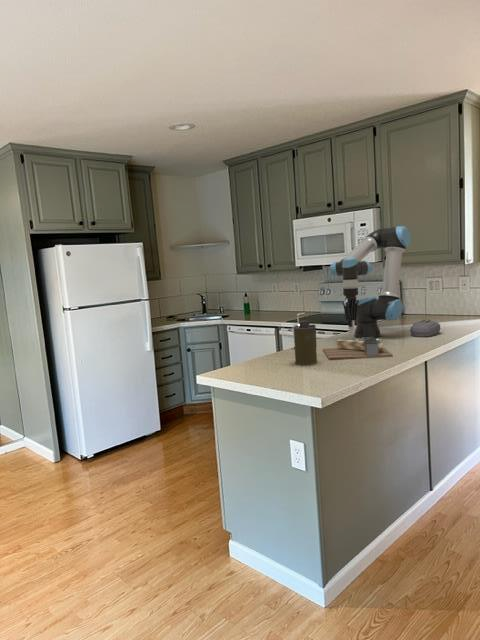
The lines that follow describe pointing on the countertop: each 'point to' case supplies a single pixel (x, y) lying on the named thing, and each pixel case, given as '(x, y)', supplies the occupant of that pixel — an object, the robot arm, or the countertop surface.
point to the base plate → (351, 354)
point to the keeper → (370, 346)
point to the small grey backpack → (425, 328)
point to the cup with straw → (298, 321)
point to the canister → (305, 343)
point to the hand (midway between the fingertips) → (351, 332)
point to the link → (355, 345)
